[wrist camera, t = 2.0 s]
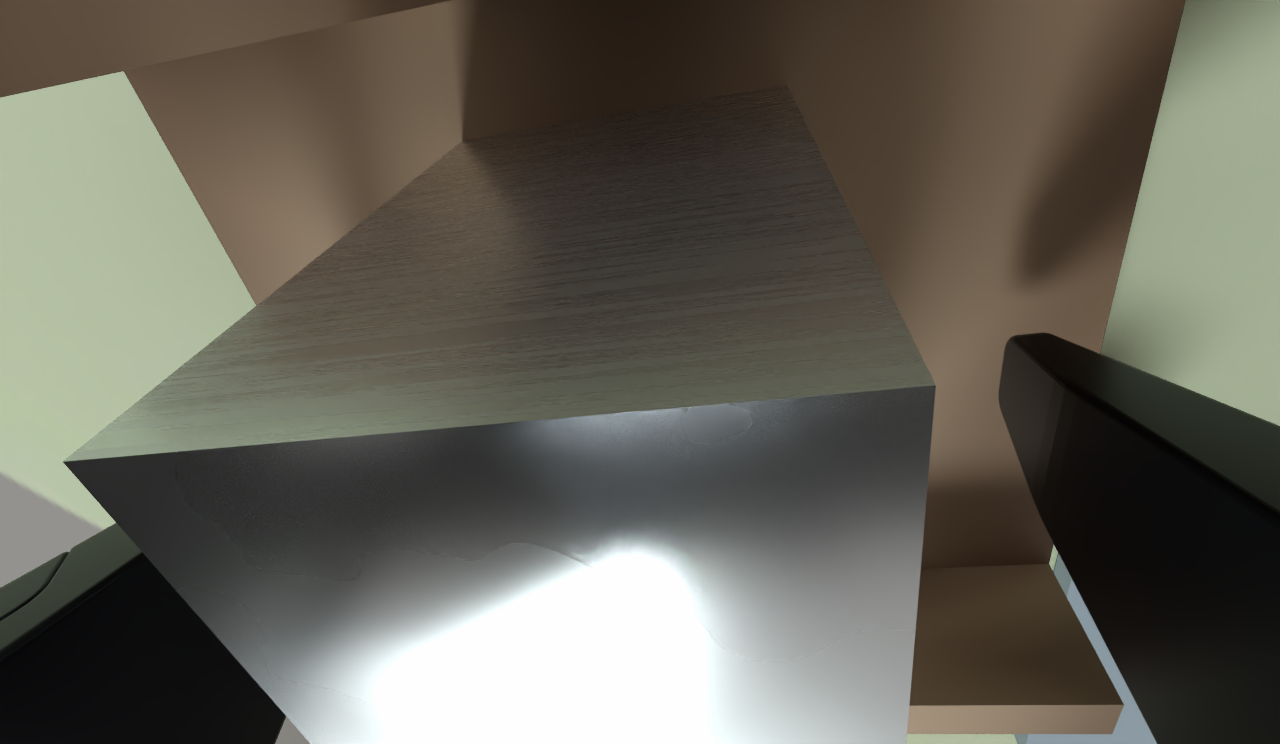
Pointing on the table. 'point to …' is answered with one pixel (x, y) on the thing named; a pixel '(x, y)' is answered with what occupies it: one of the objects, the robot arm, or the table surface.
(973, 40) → the brown wooden tray
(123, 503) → the metal block
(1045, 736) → the rest mat
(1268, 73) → the table surface
